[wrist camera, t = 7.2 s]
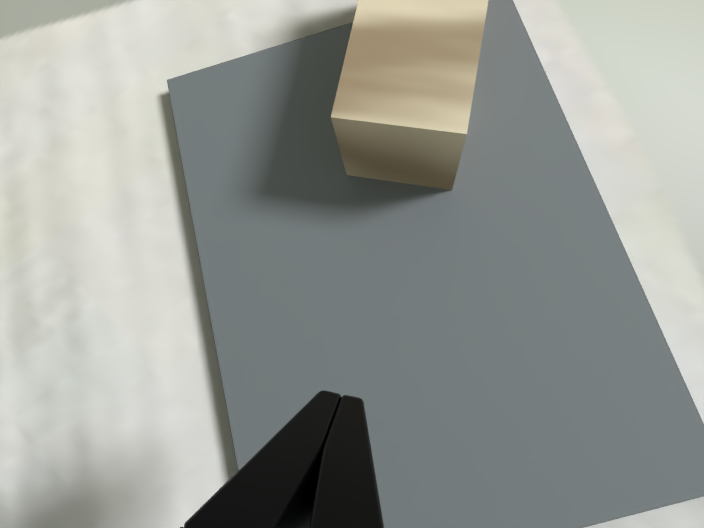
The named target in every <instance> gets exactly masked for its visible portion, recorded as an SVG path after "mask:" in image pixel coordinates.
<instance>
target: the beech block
mask: <svg viewBox="0 0 704 528" xmlns="http://www.w3.org/2000/svg"><path fill="white" fill-rule="evenodd" d="M487 6H488V0H358V4H357V8H356V13H355V17H354V21H353V25H352V29H351V34H350V38H349V42H348V46H347V51H346V55H345V59H344V63H343V67H342V72H341V76H340V80H339V84H338V89H337V93H336V97H335V101H334V105H333V110H332V114H331V120H332V124H333V127H334V131H335V134H336V138H337V142H338V145H339V149H340V152H341V156H342V160H343V163H344V167H345V170H346V174H347V175H350V176H357V177H364V178H371V179H378V180H385V181H392V182H399V183H406V184H413V185H420V186H427V187H434V188H441V189H448V190H452V189H453V185H454V181H455V177H456V174H457V170H458V166H459V162H460V158H461V155H462V151H463V147H464V143H465V139H466V135H467V130H468V124H469V118H470V112H471V105H472V99H473V93H474V87H475V81H476V74H477V68H478V62H479V56H480V50H481V44H482V37H483V31H484V25H485V19H486V13H487Z"/></svg>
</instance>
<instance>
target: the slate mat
mask: <svg viewBox="0 0 704 528" xmlns="http://www.w3.org/2000/svg"><path fill="white" fill-rule="evenodd" d="M352 25H353V22H352V23H349V24H346V25H343V26H339V27H336V28H333V29H330V30H327V31H323V32H320V33H317V34H314V35H310V36H307V37H304V38H301V39H298V40H294V41H291V42H288V43H285V44H281V45H278V46H275V47H272V48H269V49H265V50H262V51H259V52H256V53H252V54H249V55H246V56H243V57H240V58H236V59H233V60H230V61H227V62H223V63H220V64H217V65H214V66H210V67H207V68H204V69H201V70H198V71H194V72H191V73H188V74H185V75H181V76H178V77H175V78H172V79H169V80H167V83H168V89H169V94H170V99H171V105H172V110H173V116H174V121H175V127H176V132H177V138H178V143H179V149H180V154H181V160H182V165H183V170H184V176H185V181H186V187H187V192H188V198H189V203H190V209H191V214H192V220H193V225H194V231H195V236H196V242H197V247H198V252H199V258H200V263H201V269H202V274H203V280H204V285H205V291H206V296H207V302H208V307H209V313H210V318H211V323H212V329H213V334H214V340H215V345H216V351H217V356H218V362H219V367H220V373H221V378H222V384H223V389H224V394H225V400H226V405H227V411H228V416H229V422H230V427H231V433H232V438H233V444H234V449H235V455H236V460H237V465H238V471H239V470H240V469H241V468H242V467H243V466H244V465H245V464H246V463H247V462H248V461H249V460H250V459H251V458H252V457H253V456H254V455H255V454H256V453H257V452H258V451H259V450H260V449H261V448H262V447H263V446H264V445H265V444H266V443H267V442H268V441H269V440H270V439H271V438H272V437H273V436H274V435H275V434H276V433H277V432H278V431H279V430H281V429H282V428H283V427H284V426H285V425H286V424H287V423H288V422H289V421H290V420H291V419H292V418H293V417H294V416H295V415H296V414H297V413H298V412H299V411H300V410H301V409H302V408H303V407H304V406H305V405H306V404H307V403H308V402H309V401H310V400H311V399H312V398H313V397H314V396H315V395H316V394H317V393H318V392H320V391H322V390H325V391H330V392H335V393H339V394H340V395H341V397H342V396H343V395H349V396H354V397H358V398H361V399H362V400H363V402H364V407H365V413H366V420H367V426H368V432H369V438H370V444H371V450H372V456H373V462H374V468H375V475H376V481H377V487H378V493H379V499H380V505H381V511H382V517H383V523H384V528H583V527H587V526H591V525H595V524H599V523H603V522H607V521H610V520H614V519H618V518H622V517H626V516H630V515H634V514H637V513H641V512H645V511H649V510H653V509H657V508H660V507H664V506H668V505H672V504H676V503H680V502H684V501H687V500H691V499H695V498H699V497H703V496H704V424H703V422H702V419H701V417H700V415H699V413H698V410H697V408H696V406H695V404H694V402H693V399H692V397H691V395H690V393H689V390H688V388H687V386H686V384H685V382H684V379H683V377H682V375H681V373H680V370H679V368H678V366H677V364H676V362H675V359H674V357H673V355H672V353H671V351H670V348H669V346H668V344H667V342H666V339H665V337H664V335H663V333H662V331H661V328H660V326H659V324H658V322H657V319H656V317H655V315H654V313H653V311H652V308H651V306H650V304H649V302H648V299H647V297H646V295H645V293H644V291H643V288H642V286H641V284H640V282H639V280H638V277H637V275H636V273H635V271H634V268H633V266H632V264H631V262H630V260H629V257H628V255H627V253H626V251H625V248H624V246H623V244H622V242H621V240H620V237H619V235H618V233H617V231H616V228H615V226H614V224H613V222H612V220H611V217H610V215H609V213H608V211H607V209H606V206H605V204H604V202H603V200H602V197H601V195H600V193H599V191H598V189H597V186H596V184H595V182H594V180H593V177H592V175H591V173H590V171H589V169H588V166H587V164H586V162H585V160H584V157H583V155H582V153H581V151H580V149H579V146H578V144H577V142H576V140H575V138H574V135H573V133H572V131H571V129H570V126H569V124H568V122H567V120H566V118H565V115H564V113H563V111H562V109H561V106H560V104H559V102H558V100H557V98H556V95H555V93H554V91H553V89H552V86H551V84H550V82H549V80H548V78H547V75H546V73H545V71H544V69H543V67H542V64H541V62H540V60H539V58H538V55H537V53H536V51H535V49H534V47H533V44H532V42H531V40H530V38H529V35H528V33H527V31H526V29H525V27H524V24H523V22H522V20H521V18H520V15H519V13H518V11H517V9H516V7H515V4H514V2H513V0H488V6H487V13H486V19H485V25H484V31H483V37H482V44H481V50H480V56H479V62H478V68H477V74H476V81H475V87H474V93H473V99H472V105H471V112H470V118H469V124H468V130H467V135H466V139H465V143H464V147H463V151H462V155H461V158H460V162H459V166H458V170H457V174H456V177H455V181H454V185H453V189H452V190H448V189H441V188H434V187H427V186H420V185H413V184H406V183H399V182H392V181H385V180H378V179H371V178H364V177H357V176H350V175H347V174H346V170H345V167H344V163H343V160H342V156H341V152H340V149H339V145H338V142H337V138H336V134H335V131H334V127H333V124H332V120H331V114H332V110H333V105H334V101H335V97H336V93H337V89H338V84H339V80H340V76H341V72H342V67H343V63H344V59H345V55H346V51H347V46H348V42H349V38H350V34H351V29H352Z"/></svg>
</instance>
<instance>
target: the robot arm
mask: <svg viewBox="0 0 704 528" xmlns="http://www.w3.org/2000/svg"><path fill="white" fill-rule="evenodd" d="M180 528H384V523H383V517H382V511H381V505H380V499H379V493H378V487H377V481H376V475H375V468H374V462H373V456H372V450H371V444H370V438H369V432H368V426H367V420H366V413H365V407H364V402H363V400H362V399H361V398H358V397H354V396H349V395H343V396H342V397H341V395H340V394H339V393H335V392H330V391H325V390H322V391H320V392H318V393H317V394H316V395H315V396H314V397H313V398H312V399H311V400H310V401H309V402H308V403H307V404H306V405H305V406H304V407H303V408H302V409H301V410H300V411H299V412H298V413H297V414H296V415H295V416H294V417H293V418H292V419H291V420H290V421H289V422H288V423H287V424H286V425H285V426H284V427H283V428H282V429H281V430H279V431H278V432H277V433H276V434H275V435H274V436H273V437H272V438H271V439H270V440H269V441H268V442H267V443H266V444H265V445H264V446H263V447H262V448H261V449H260V450H259V451H258V452H257V453H256V454H255V455H254V456H253V457H252V458H251V459H250V460H249V461H248V462H247V463H246V464H245V465H244V466H243V467H242V468H241V469H240V470H239V471H238V472H237V473H236V474H235V475H233V476H232V477H231V478H230V479H229V480H228V481H227V482H226V483H225V484H224V485H223V486H222V487H221V488H220V489H219V490H218V491H217V492H216V493H215V494H214V495H213V496H212V497H211V498H210V499H209V500H208V501H207V502H206V503H205V504H204V505H203V506H202V507H201V508H200V509H199V510H198V511H197V512H196V513H195V514H194V515H193V516H192V517H191V518H190V519H189V520H187V521H186V522H185V524H184V527H180Z"/></svg>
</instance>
